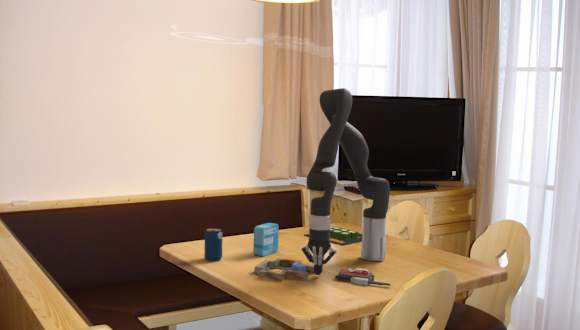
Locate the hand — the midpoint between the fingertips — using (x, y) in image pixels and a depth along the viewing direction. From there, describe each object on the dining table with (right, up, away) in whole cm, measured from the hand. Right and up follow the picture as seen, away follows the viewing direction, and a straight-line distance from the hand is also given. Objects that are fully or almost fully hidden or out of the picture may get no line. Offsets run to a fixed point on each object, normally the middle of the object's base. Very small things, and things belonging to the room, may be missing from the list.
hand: (318, 274), depth 214 cm
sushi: (+14, +5, +67) cm, 69 cm away
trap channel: (-12, 0, +4) cm, 12 cm away
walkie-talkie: (+16, -3, -3) cm, 16 cm away
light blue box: (-20, +3, +31) cm, 37 cm away
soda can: (-40, +2, +19) cm, 45 cm away
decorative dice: (-7, -1, +3) cm, 8 cm away
